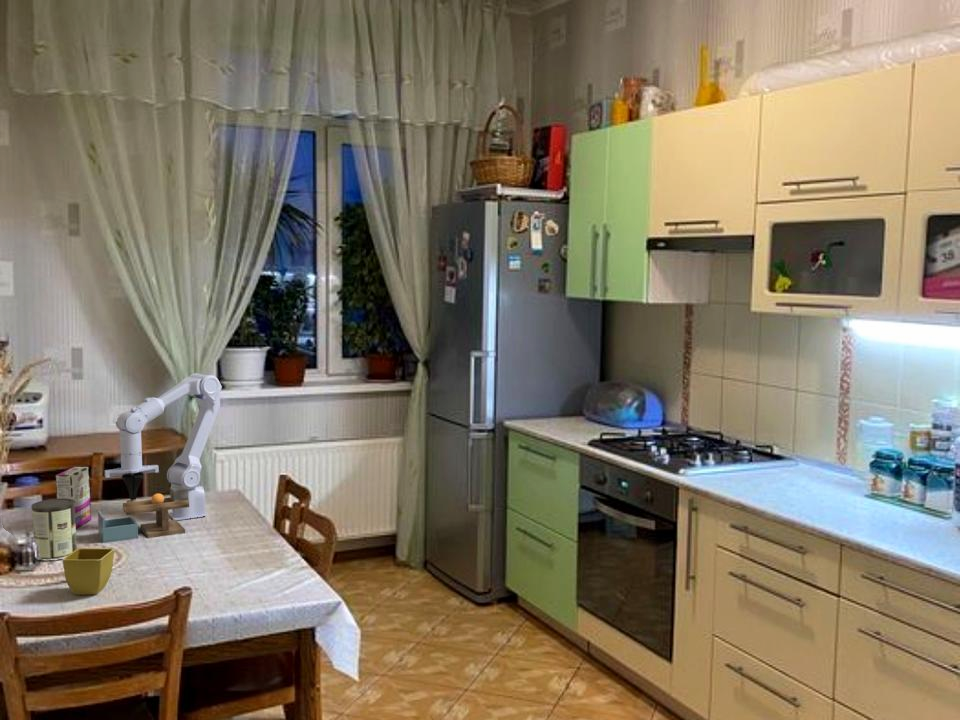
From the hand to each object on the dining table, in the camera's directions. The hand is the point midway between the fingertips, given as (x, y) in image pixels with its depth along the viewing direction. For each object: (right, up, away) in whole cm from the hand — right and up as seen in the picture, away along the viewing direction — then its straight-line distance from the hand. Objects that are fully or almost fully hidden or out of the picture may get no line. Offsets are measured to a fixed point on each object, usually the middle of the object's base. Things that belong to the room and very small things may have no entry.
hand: (132, 499), depth 259 cm
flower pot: (+11, -13, -53) cm, 55 cm away
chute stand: (+9, -9, -2) cm, 13 cm away
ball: (+9, 0, -4) cm, 9 cm away
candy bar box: (-18, -8, +3) cm, 20 cm away
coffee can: (-10, -11, -26) cm, 30 cm away
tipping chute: (+7, -2, -1) cm, 7 cm away
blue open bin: (-1, -9, -8) cm, 13 cm away
